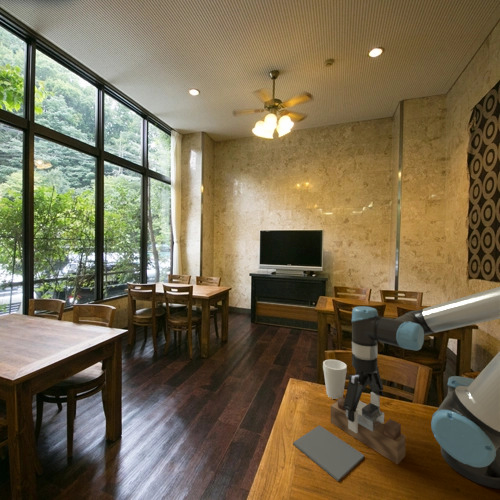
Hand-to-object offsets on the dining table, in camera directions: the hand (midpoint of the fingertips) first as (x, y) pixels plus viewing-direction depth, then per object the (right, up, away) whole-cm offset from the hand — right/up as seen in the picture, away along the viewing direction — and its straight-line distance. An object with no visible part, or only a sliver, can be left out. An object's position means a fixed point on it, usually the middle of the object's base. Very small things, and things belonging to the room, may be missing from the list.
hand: (364, 421), depth 81 cm
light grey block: (0, +1, 0) cm, 1 cm away
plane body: (0, -5, 0) cm, 5 cm away
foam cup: (-2, -6, +24) cm, 24 cm away
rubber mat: (-14, -5, -5) cm, 15 cm away
